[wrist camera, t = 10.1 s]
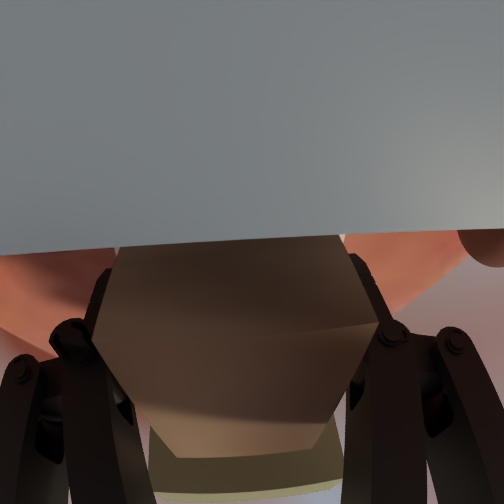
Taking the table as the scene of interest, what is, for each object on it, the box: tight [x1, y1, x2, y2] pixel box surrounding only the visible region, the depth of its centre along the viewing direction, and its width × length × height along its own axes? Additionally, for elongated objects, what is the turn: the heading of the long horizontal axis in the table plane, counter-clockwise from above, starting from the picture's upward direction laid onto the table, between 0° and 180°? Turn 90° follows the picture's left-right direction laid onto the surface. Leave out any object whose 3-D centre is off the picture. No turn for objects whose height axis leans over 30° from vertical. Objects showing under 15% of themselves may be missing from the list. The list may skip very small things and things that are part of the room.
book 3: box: [148, 413, 344, 502], centre depth 15 cm, size 8×4×11 cm, turn 90°
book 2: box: [92, 235, 379, 458], centre depth 11 cm, size 4×7×10 cm, turn 0°
